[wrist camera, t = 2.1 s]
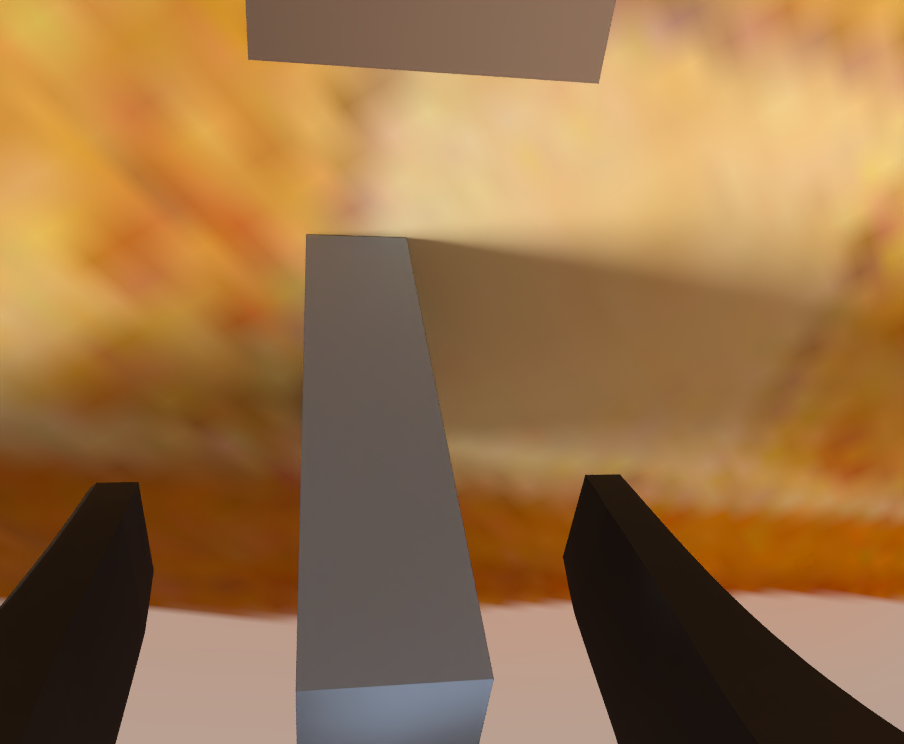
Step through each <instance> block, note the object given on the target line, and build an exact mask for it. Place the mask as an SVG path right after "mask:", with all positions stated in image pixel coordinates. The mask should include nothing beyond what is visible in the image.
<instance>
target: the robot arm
mask: <svg viewBox="0 0 904 744" xmlns="http://www.w3.org/2000/svg"><path fill="white" fill-rule="evenodd" d="M563 559H564V565H565V570H566V575H567V580H568V586H569V591H570V595H571V600H572V605H573V609H574V613H575V616H576V620H577V623H578V626H579V629H580V632H581V635H582V638H583V641H584V644H585V647H586V650H587V653H588V656H589V659H590V662H591V665H592V668H593V671H594V674H595V677H596V680H597V683H598V686H599V688H600V692H601V694H602V697H603V700H604V703H605V706H606V709H607V712H608V715H609V718H610V721H611V724H612V727H613V730H614V733H615V736H616V739H617V743H618V744H904V732H902V731H901V730H899V729H898V728H896V727H895V726H893V725H892V724H890V723H889V722H887V721H886V720H884V719H883V718H882V717H880V716H878V715H877V714H876V713H874V712H873V711H871V710H870V709H868V708H867V707H866V706H864V705H863V704H861V703H860V702H859V701H857V700H856V699H854V698H853V697H852V696H851V695H849V694H848V693H846V692H845V691H844V690H842V689H841V688H839V687H838V686H837V685H836V684H834V683H833V682H831V681H830V680H829V679H827V678H826V677H825V676H823V675H822V674H821V673H820V672H818V671H817V670H816V669H815V668H813V667H812V666H811V665H809V664H808V663H807V662H806V661H804V660H803V659H802V658H801V657H800V656H798V655H797V654H796V653H795V652H794V651H792V650H791V649H790V648H789V647H788V646H787V645H785V644H784V643H783V642H782V641H781V640H779V639H778V638H777V637H776V636H775V635H773V634H772V633H771V632H770V631H769V630H768V629H767V628H766V627H764V626H763V625H762V624H761V623H760V622H759V621H758V620H757V619H755V618H754V617H753V616H752V615H751V614H750V613H749V612H748V611H747V610H746V609H745V608H744V607H743V606H742V605H741V604H739V602H738V601H737V600H735V599H734V598H733V597H732V596H731V595H730V594H729V593H728V592H727V591H726V590H725V589H724V588H723V587H722V586H721V585H720V584H719V583H718V582H717V581H716V580H715V579H714V578H713V577H712V576H711V575H710V574H709V573H708V572H707V571H706V570H705V569H704V567H703V566H702V565H701V564H700V563H699V562H698V561H697V560H696V559H695V558H694V557H693V556H692V555H691V554H690V553H689V552H688V551H687V549H686V548H685V547H684V546H683V545H682V544H681V543H680V542H679V541H678V540H677V539H676V537H675V536H674V535H673V534H672V533H671V532H670V531H669V530H668V528H667V527H666V526H665V525H664V524H663V523H662V522H661V521H660V520H659V518H658V517H657V516H656V515H655V514H654V513H653V512H652V510H651V509H650V508H649V507H648V506H647V505H646V504H645V502H644V501H643V500H642V499H641V498H640V497H639V496H638V494H637V493H636V492H635V491H634V490H633V489H632V488H631V487H630V485H629V484H628V483H627V482H626V481H625V480H624V479H623V478H622V476H621V475H620V474H617V475H585V478H584V482H583V486H582V489H581V493H580V496H579V500H578V504H577V507H576V511H575V515H574V518H573V522H572V526H571V529H570V533H569V537H568V540H567V544H566V548H565V551H564V555H563ZM153 571H154V570H153V565H152V559H151V553H150V547H149V541H148V536H147V530H146V524H145V518H144V513H143V507H142V501H141V495H140V489H139V484H138V482H122V483H96V484H95V485H94V486H92V487H91V488H90V489H89V491H88V492H87V493H86V495H85V496H84V498H83V499H82V501H81V502H80V504H79V505H78V507H77V508H76V509H75V511H74V512H73V514H72V515H71V516H70V518H69V519H68V521H67V522H66V523H65V525H64V526H63V528H62V529H61V530H60V532H59V533H58V534H57V536H56V537H55V538H54V540H53V541H52V542H51V544H50V545H49V546H48V548H47V549H46V550H45V552H44V553H43V554H42V556H41V557H40V558H39V559H38V561H37V562H36V563H35V564H34V566H33V567H32V568H31V569H30V571H29V572H28V573H27V574H26V576H25V577H24V578H23V579H22V581H21V582H20V583H19V584H18V586H17V587H16V588H15V589H14V591H13V592H12V593H11V594H10V595H9V597H8V598H7V599H6V600H5V601H4V603H3V604H2V605H1V606H0V744H115V743H116V740H117V736H118V732H119V728H120V724H121V721H122V717H123V713H124V710H125V706H126V702H127V699H128V695H129V691H130V687H131V684H132V680H133V676H134V672H135V668H136V665H137V661H138V657H139V653H140V649H141V645H142V642H143V637H144V634H145V628H146V621H147V615H148V608H149V601H150V593H151V586H152V578H153Z"/></svg>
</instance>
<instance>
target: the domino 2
mask: <svg viewBox="0 0 904 744" xmlns="http://www.w3.org/2000/svg"><path fill="white" fill-rule="evenodd" d="M493 680H494V678H493V673H492V667H491V662H490V657H489V652H488V648H487V642H486V638H485V632H484V627H483V622H482V617H481V612H480V607H479V602H478V597H477V592H476V587H475V582H474V577H473V572H472V567H471V561H470V556H469V551H468V546H467V541H466V536H465V531H464V526H463V521H462V516H461V511H460V506H459V501H458V496H457V491H456V486H455V481H454V476H453V471H452V466H451V461H450V456H449V451H448V445H447V440H446V435H445V430H444V425H443V420H442V415H441V410H440V405H439V400H438V395H437V390H436V385H435V380H434V375H433V370H432V365H431V360H430V355H429V350H428V345H427V340H426V334H425V329H424V324H423V319H422V314H421V309H420V304H419V299H418V294H417V289H416V284H415V279H414V274H413V269H412V264H411V259H410V254H409V249H408V244H407V239H406V238H397V237H366V236H336V235H306V268H305V312H304V355H303V399H302V443H301V486H300V530H299V573H298V617H297V661H296V725H297V727H296V729H297V744H479V741H480V737H481V732H482V728H483V724H484V719H485V715H486V711H487V706H488V702H489V698H490V693H491V689H492V684H493Z"/></svg>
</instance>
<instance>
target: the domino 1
mask: <svg viewBox="0 0 904 744" xmlns="http://www.w3.org/2000/svg"><path fill="white" fill-rule="evenodd" d="M615 2H616V0H246V18H247V41H248V60H261V61H276V62H291V63H305V64H320V65H335V66H349V67H364V68H379V69H393V70H408V71H423V72H437V73H452V74H467V75H481V76H496V77H510V78H525V79H540V80H554V81H569V82H584V83H598V84H599V79H600V74H601V70H602V65H603V60H604V55H605V50H606V45H607V40H608V36H609V31H610V26H611V21H612V16H613V11H614V6H615Z"/></svg>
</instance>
